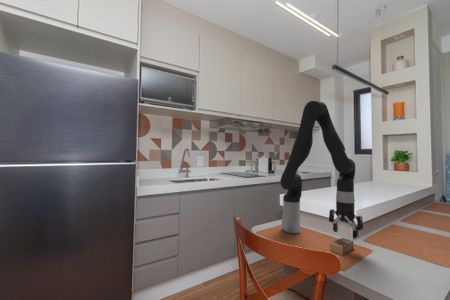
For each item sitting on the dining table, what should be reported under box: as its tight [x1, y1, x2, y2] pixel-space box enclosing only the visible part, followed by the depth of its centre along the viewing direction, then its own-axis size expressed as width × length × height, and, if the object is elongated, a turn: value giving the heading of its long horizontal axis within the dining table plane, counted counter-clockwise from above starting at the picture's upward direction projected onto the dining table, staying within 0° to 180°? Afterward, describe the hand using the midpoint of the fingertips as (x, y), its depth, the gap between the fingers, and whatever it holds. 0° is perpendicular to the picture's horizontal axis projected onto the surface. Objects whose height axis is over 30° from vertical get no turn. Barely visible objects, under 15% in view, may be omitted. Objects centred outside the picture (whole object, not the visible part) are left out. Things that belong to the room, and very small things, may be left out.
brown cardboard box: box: [329, 237, 354, 256], centre depth 96 cm, size 5×4×11 cm
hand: (345, 234), depth 98 cm, fingers open, 8 cm apart
